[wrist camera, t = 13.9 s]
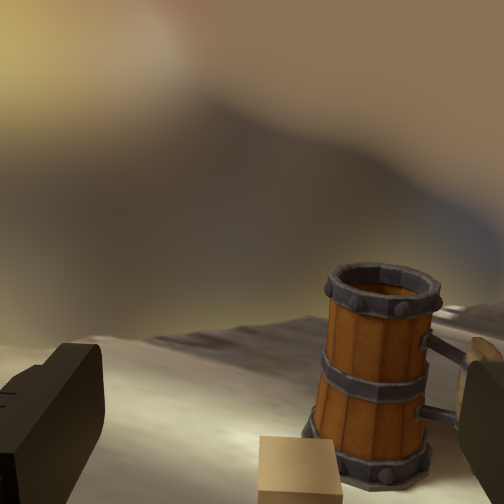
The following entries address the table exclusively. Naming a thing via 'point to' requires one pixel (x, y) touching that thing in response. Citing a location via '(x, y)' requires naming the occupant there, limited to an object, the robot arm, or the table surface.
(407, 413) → the mug
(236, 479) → the table surface
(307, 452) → the maple pillar
